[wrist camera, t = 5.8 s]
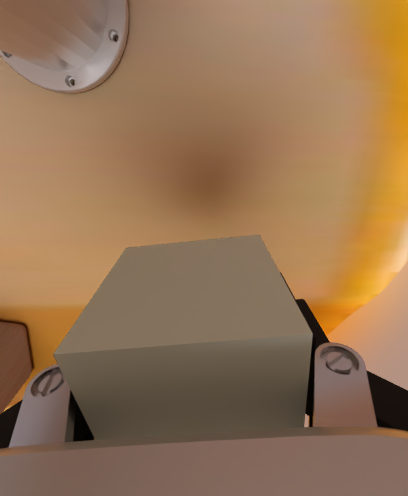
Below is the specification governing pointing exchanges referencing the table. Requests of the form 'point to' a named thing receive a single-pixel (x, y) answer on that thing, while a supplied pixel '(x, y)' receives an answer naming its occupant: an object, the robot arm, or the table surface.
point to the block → (13, 361)
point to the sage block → (190, 343)
